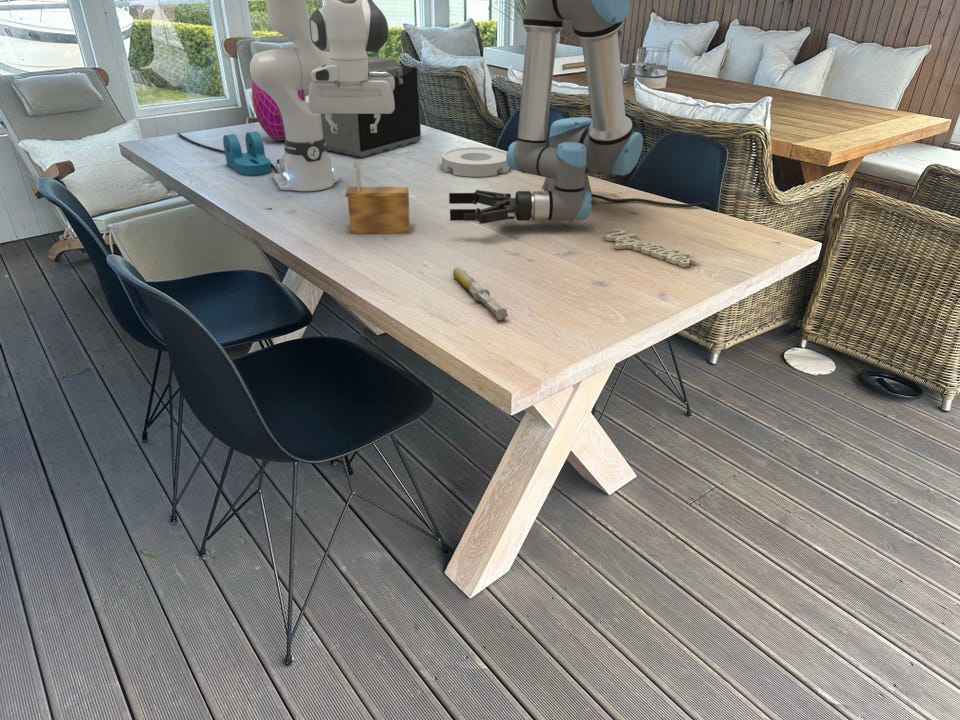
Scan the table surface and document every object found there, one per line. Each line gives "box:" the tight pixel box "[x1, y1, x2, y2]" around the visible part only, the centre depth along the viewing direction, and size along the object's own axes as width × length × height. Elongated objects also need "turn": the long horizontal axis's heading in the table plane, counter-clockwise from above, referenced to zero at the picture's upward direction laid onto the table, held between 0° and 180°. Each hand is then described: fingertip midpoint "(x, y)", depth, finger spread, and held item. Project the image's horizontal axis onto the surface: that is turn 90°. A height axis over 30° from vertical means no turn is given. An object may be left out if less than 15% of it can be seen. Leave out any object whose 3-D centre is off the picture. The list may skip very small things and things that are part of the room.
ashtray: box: [441, 146, 511, 178], centre depth 232 cm, size 23×23×4 cm
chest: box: [347, 191, 411, 234], centre depth 178 cm, size 15×5×10 cm, turn 93°
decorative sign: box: [605, 228, 696, 268], centre depth 169 cm, size 26×1×10 cm
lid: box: [345, 159, 409, 198], centre depth 173 cm, size 16×5×8 cm, turn 93°
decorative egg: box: [251, 78, 307, 142], centre depth 257 cm, size 19×19×30 cm
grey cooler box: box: [321, 56, 422, 159], centre depth 250 cm, size 37×22×30 cm, turn 144°
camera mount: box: [222, 131, 272, 176], centre depth 226 cm, size 18×10×10 cm, turn 35°
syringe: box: [452, 266, 509, 321], centre depth 145 cm, size 25×4×3 cm, turn 21°
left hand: (354, 132), depth 167 cm, fingers open, 8 cm apart
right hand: (449, 206), depth 178 cm, fingers open, 13 cm apart
